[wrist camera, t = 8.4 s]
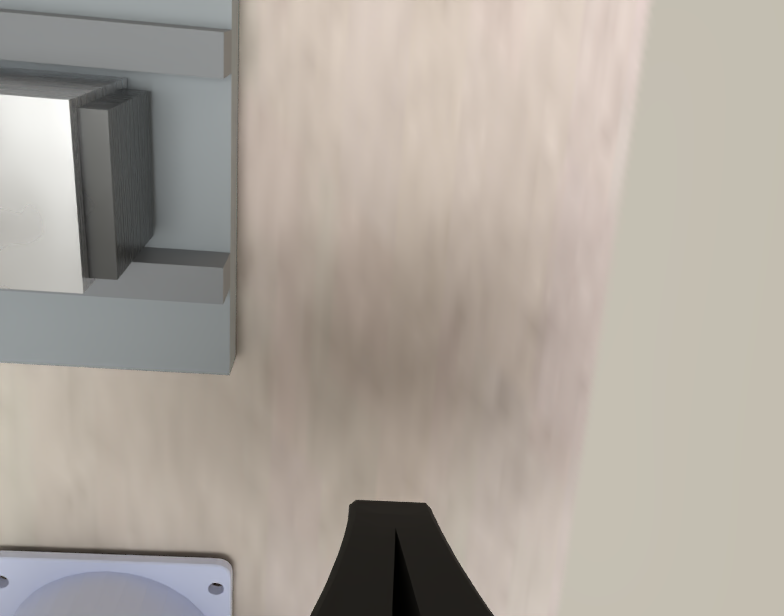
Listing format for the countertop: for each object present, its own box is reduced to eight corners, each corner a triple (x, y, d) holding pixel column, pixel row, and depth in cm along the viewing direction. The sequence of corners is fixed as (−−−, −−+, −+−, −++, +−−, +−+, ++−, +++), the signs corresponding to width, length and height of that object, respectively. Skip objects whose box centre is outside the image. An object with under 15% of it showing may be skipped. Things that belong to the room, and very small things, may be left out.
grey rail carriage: (157, 238, 20) (112, 295, 16) (-66, 222, 19) (-166, 277, 15) (151, 80, 18) (100, 103, 14) (-91, 58, 18) (-208, 77, 14)
